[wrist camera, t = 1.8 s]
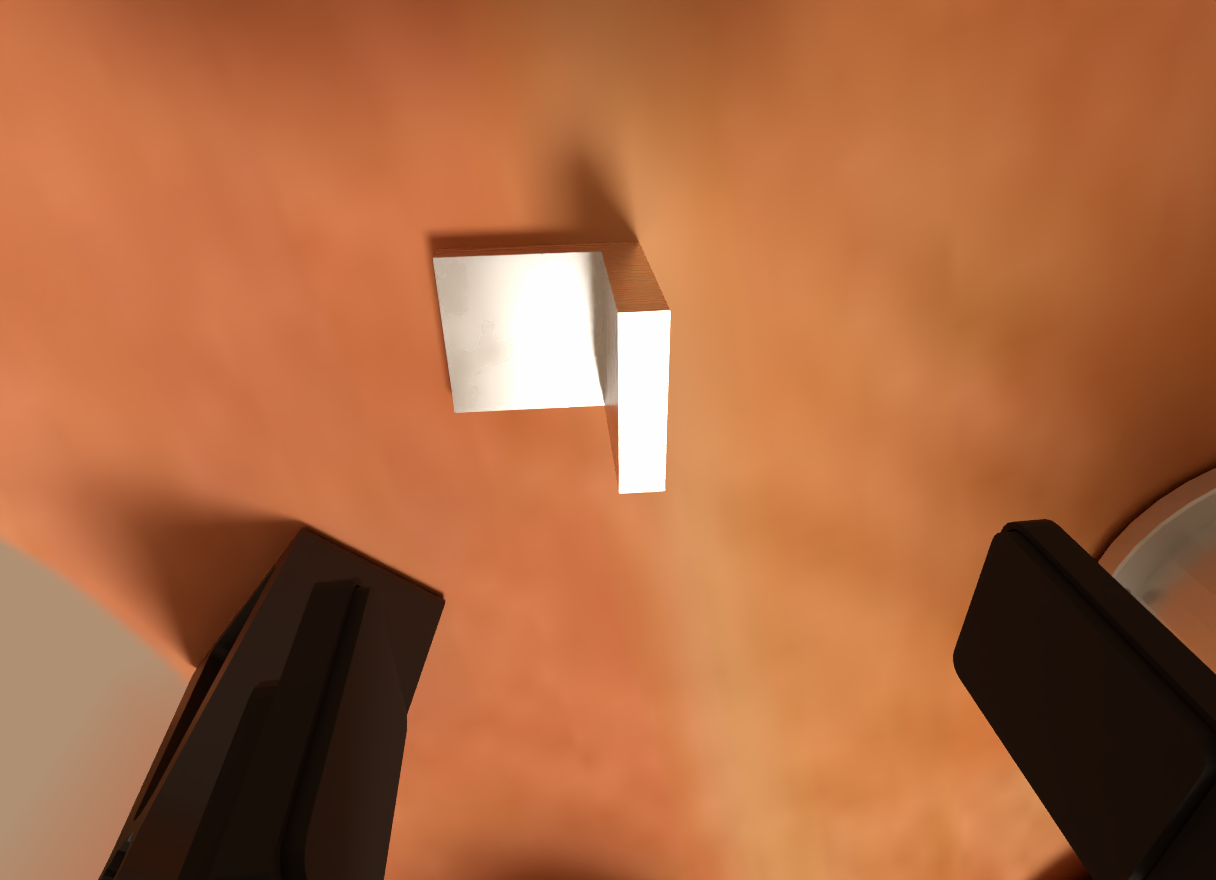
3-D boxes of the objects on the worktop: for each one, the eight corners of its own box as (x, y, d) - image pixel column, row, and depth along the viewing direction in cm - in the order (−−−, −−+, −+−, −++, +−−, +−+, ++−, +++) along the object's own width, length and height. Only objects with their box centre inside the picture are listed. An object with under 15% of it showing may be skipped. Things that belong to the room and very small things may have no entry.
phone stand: (330, 722, 31) (225, 1076, 20) (194, 667, 28) (-2, 1034, 18) (447, 596, 28) (392, 937, 17) (305, 523, 25) (144, 867, 15)
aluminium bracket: (638, 240, 21) (670, 310, 16) (637, 389, 24) (664, 490, 19) (437, 248, 21) (403, 322, 16) (458, 398, 23) (435, 504, 18)
